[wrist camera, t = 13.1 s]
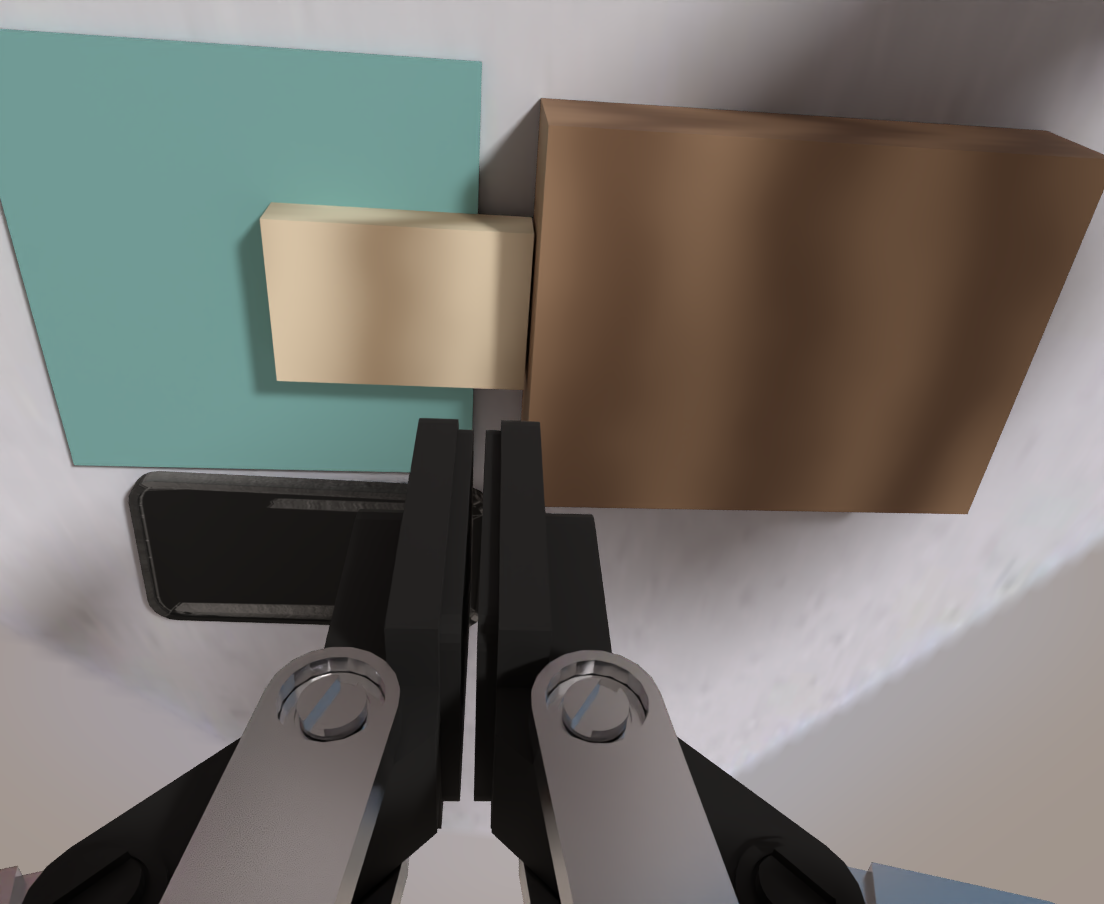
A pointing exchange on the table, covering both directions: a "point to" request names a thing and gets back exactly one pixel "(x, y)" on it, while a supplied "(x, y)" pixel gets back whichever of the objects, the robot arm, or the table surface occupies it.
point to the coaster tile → (397, 295)
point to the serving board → (788, 303)
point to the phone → (256, 543)
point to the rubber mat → (213, 235)
